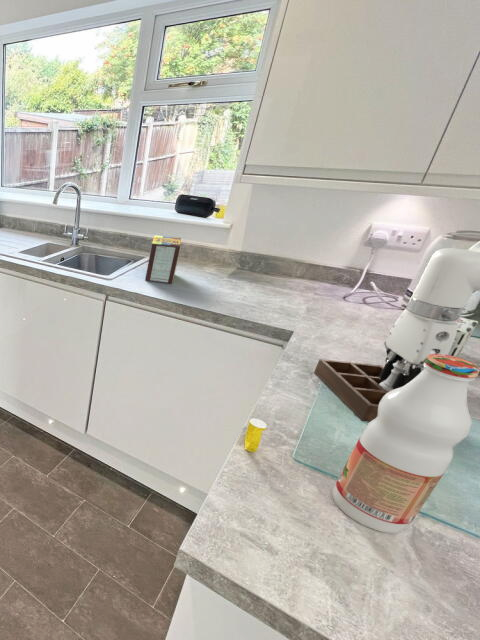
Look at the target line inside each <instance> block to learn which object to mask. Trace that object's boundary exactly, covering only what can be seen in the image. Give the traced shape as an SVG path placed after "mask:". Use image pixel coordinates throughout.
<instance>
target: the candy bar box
mask: <svg viewBox="0 0 480 640" xmlns="http://www.w3.org/2000/svg"><path fill="white" fill-rule="evenodd" d="M456 323H457V324H458V328H457V332H456V336H455V339H454V342H453V344H452V347H451V349H450V351H449V353H448V355H450V356H454V357H458V358H460V356H461V354H462V352H463V350H464V349H465V346H466V345H467V343H468V342H469V339H470V337H471V336H472V334H473V332H474V331H475V329H476V327H477V325H478V324H479V321H478V320H475V319H470V318H467V317H463V316H460V317H459V319H458V320H457V321H456ZM414 366H415V365H414ZM414 368H417V366H415V367H414Z"/></svg>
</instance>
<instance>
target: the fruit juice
mask: <svg viewBox="0 0 480 640" xmlns="http://www.w3.org/2000/svg"><path fill="white" fill-rule="evenodd" d="M423 366H424V370H423V371H422V372H421V373H420V374H419V375H417V376H416V377H415V378H414V379H413V380H411V381H410V382H409V383H407V384H406V385H404V386H403V387H400V388H397V389H394V390H392V391H390V392H388V393H386V394H385V395H384V396H383V398H382V399H381V401H380V402H379V405H378V414H377V417H376V418H375V419H373V420H372V421H370V422H367V424H366V426H365V428H364V429H363V431H362V432H361V434H360V436H359V438H358V439H357V442H356V443H355V446H354V447H353V450H352V452H351V453H350V455H349V457H348V459H347V461H346V463H345V465H344V467H343V468H342V471H341V472H340V474H339V476H338V478H337V480H336V482H335V484H334V486H333V489H332V499H333V501H334V503H335V504H336V505H337V507H338V509H340V510H341V511H342V512H343V513H344V514H346V515H347V516H348V517H349V518H351V519H352V520H354V521H356V522H357V523H359V524H361V525H362V526H365V527H367V528H369V529H371V530H375V531H378V532H381V533H386V534H400V533H402V532H404V531H406V530H408V528H409V527H410V526H411V524H412V523H413V522H414V520H415V518H416V517H417V516H418V514H419V513H420V511H421V510H422V508H423V506H424V505H425V503H426V502H427V500H428V499H429V497H430V496H431V494H432V493H433V491H434V490H435V488H436V487H437V485H438V484H439V482H440V481H441V479H442V478H443V476H444V475H445V473H446V472H447V470H448V469H449V467H450V465H451V463H452V461H453V458H454V447H455V446H456V445H458V444H459V443H461V442H463V440H465V439H466V438H467V437H468V435H469V434H470V431H471V430H472V426H473V420H472V417H471V415H470V412H469V409H468V391H469V384H470V382H473V381H475V380H476V378H478V376H479V374H480V367H479V366H478V365H477V364H475V363H473V362H471V361H469V360H466V359H464V358H461V357H454V356H450V355H445V354H430V355H429V356H428V357H427V358H426V359H425V361H424V364H423Z"/></svg>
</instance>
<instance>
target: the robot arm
mask: <svg viewBox="0 0 480 640" xmlns="http://www.w3.org/2000/svg"><path fill="white" fill-rule="evenodd" d="M475 291H478V292H480V240H479V241H477V242H476V243H475V244H473V245H472V246H471V247H470V248H468V249H464V248H456V247H445V248H439V249H438V250H436V251H435V252H433V254H432V255H431V257H430V259H429V261H428V263H427V265H426V267H425V269H424V271H423V273H422V275H421V277H420V279H419V281H418V283H417V285H416V288H415V289H414V291H413V293H412V294H411V295H412V296H411V297H410V299H409V301H408V304H407V305H406V307H405V309H404V310H403V311H402V313H401V314H400V315H399V316H398V318H397V319H396V320H395V323H394V324H393V325H392V328H391V329H390V331H389V333H388V335H387V337H386V340H385V341H384V342H383V345H384V347H385V349H386V357H385V359H384V361H385V364H384V365H383V367H384V368H383V370H382V372H381V374H380V376H379V378H381V379H384V380H386V379H387V378H388V377H389V376H390V374H391V372H392V371H391V370H392V369H394V366H393V363H396V362H397V361H398V360H399V361H401V360H402V361H404V362H405V363H406V364H405V367H404V369H403V372H402V373H399V374H398V376H397V378H396V380H395V381H394V383H393V385H392V388H393V389H397V388H400V387H403V386H404V385H406V384H407V383H409V382H410V381H411V380H413V379H414V378H415V377H416V376H417V375H419V374H420V373H421V372H422V371H423V370H424V366H423V364H424V361H425V359H426V358H427V357H428V356H429V355H430V354H445V355H448V353H449V351H450V349H451V347H452V344H453V342H454V339H455V336H456V332H457V328H458V324H457V323H456V321H457V320H458V319H459V317H461V314H462V313H463V311H464V309H465V307H466V305H467V304H468V302H469V300H470V299H471V296H472V295H473V294H474V292H475ZM413 366H417V368H415V367H414V368H413ZM412 368H413V369H412Z"/></svg>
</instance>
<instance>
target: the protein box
mask: <svg viewBox="0 0 480 640" xmlns="http://www.w3.org/2000/svg"><path fill="white" fill-rule="evenodd" d="M181 247H182V237H177V236H165V235H154V234H153V238H152V242H151V247H150V250H149V251H150V252H149V257H148V263H147V267H146V273H145V278H144V280H145V281H149V282H154V283H155V282H156V283H162V284H163V283H164V284H170V285H172V284H173V282H174V278H175V273H176V269H177V264H178V261H179V256H180V252H181Z"/></svg>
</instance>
